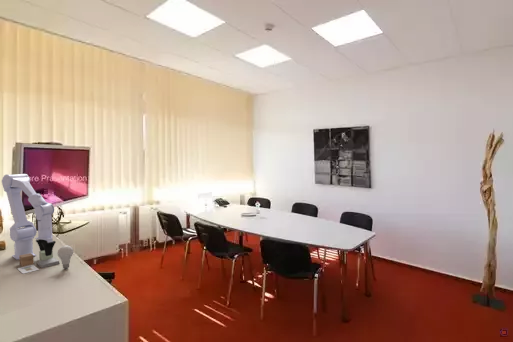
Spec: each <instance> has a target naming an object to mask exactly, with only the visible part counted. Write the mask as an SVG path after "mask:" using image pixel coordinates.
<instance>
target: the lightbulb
mask: <svg viewBox="0 0 513 342" xmlns="http://www.w3.org/2000/svg"><path fill="white" fill-rule="evenodd" d="M73 253H74V248H73V247H72V246H70V245H62V246H61V247H59V249H58V250H57V256H58V257H59V259H60V261H61V264H62V269H64V270H68V268H70V263H71V258H72V256H73V255H74V254H73Z"/></svg>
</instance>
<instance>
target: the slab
mask: <svg viewBox="0 0 513 342" xmlns="http://www.w3.org/2000/svg"><path fill="white" fill-rule="evenodd" d="M36 264H37V266H38V267H40V268H42V269H44V268H49V267H52V266H56V265H60V260H58V259H57V258H56V257H53V258H51V259H47V260H43V261H40V260H38V261H37V263H36Z"/></svg>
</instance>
